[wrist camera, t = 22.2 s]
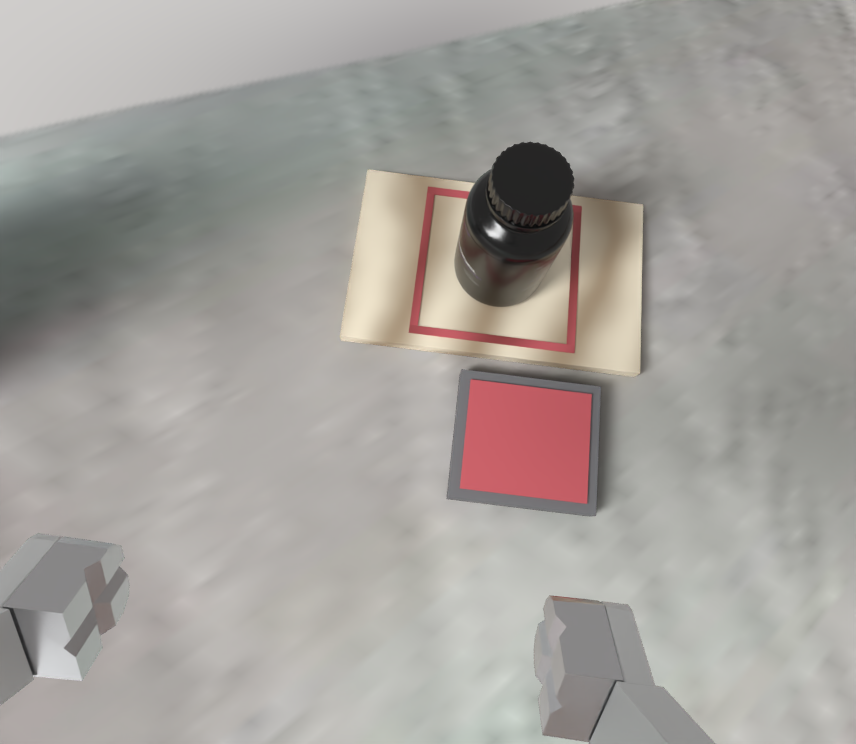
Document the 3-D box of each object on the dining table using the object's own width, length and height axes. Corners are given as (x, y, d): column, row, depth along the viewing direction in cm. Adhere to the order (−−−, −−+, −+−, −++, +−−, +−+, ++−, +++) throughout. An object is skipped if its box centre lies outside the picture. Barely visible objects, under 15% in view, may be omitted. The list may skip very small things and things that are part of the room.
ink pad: (446, 498, 41) (448, 497, 39) (459, 374, 43) (461, 368, 41) (589, 516, 41) (597, 515, 39) (594, 391, 43) (601, 385, 42)
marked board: (341, 340, 43) (339, 335, 42) (368, 176, 47) (367, 168, 46) (634, 377, 44) (640, 373, 43) (638, 211, 47) (643, 203, 46)
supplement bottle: (435, 277, 44) (447, 186, 32) (485, 212, 46) (513, 103, 34) (511, 328, 43) (552, 253, 32) (559, 259, 45) (614, 164, 33)
